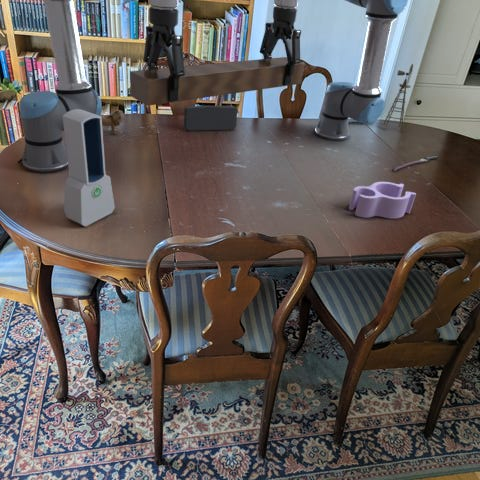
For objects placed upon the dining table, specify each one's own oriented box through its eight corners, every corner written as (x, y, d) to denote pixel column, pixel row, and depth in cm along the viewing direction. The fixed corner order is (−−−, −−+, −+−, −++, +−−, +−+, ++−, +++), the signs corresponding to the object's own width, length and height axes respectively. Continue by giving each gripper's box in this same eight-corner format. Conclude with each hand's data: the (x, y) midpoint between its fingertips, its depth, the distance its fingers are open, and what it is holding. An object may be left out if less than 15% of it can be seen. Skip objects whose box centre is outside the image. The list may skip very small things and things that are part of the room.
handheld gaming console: (234, 127, 207) (236, 105, 202) (236, 129, 205) (238, 107, 200) (183, 128, 200) (184, 105, 195) (185, 131, 198) (185, 107, 192)
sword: (433, 155, 200) (434, 153, 199) (439, 158, 198) (440, 155, 197) (387, 170, 184) (387, 168, 183) (393, 173, 182) (394, 171, 181)
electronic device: (82, 228, 128) (71, 122, 112) (63, 219, 131) (50, 114, 115) (115, 211, 137) (109, 111, 121) (97, 203, 140) (89, 104, 124)
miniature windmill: (401, 131, 224) (420, 67, 208) (384, 129, 225) (401, 64, 209) (400, 126, 231) (418, 63, 215) (383, 123, 232) (399, 60, 216)
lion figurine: (123, 129, 193) (122, 108, 188) (125, 134, 189) (124, 112, 184) (86, 130, 188) (84, 108, 183) (87, 135, 184) (85, 113, 179)
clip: (362, 221, 145) (367, 202, 142) (342, 202, 155) (347, 184, 151) (415, 216, 152) (421, 197, 148) (393, 198, 161) (398, 180, 158)
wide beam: (147, 105, 124) (147, 80, 120) (130, 96, 130) (129, 71, 126) (301, 83, 159) (304, 63, 156) (282, 76, 165) (285, 56, 161)
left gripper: (201, 15, 114) (197, 105, 127) (153, 0, 127) (153, 83, 140) (176, 15, 110) (174, 109, 122) (128, 0, 123) (131, 86, 135)
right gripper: (320, 12, 141) (307, 88, 153) (269, 1, 154) (262, 71, 166) (303, 13, 136) (292, 90, 148) (253, 1, 149) (246, 73, 162)
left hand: (163, 95), depth 131 cm, fingers closed on wide beam, 9 cm apart
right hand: (276, 80), depth 157 cm, fingers closed on wide beam, 9 cm apart
